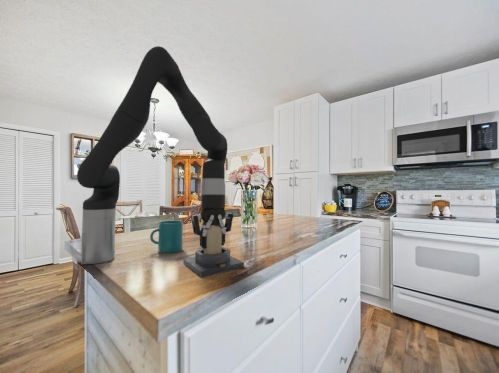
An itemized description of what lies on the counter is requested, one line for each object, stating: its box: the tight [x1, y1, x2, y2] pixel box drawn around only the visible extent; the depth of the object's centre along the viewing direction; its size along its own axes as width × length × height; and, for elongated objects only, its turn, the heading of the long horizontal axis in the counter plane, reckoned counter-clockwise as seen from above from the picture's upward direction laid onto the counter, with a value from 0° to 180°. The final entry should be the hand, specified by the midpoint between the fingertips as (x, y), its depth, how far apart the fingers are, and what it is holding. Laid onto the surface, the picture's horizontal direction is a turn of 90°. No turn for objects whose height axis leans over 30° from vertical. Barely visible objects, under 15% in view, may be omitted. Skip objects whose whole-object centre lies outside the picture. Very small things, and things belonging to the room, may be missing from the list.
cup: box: [149, 220, 184, 254], centre depth 86 cm, size 9×12×11 cm
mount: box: [182, 246, 245, 278], centre depth 69 cm, size 14×14×4 cm
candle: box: [204, 225, 223, 254], centre depth 69 cm, size 6×6×10 cm
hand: (212, 246), depth 69 cm, fingers closed on candle, 5 cm apart
